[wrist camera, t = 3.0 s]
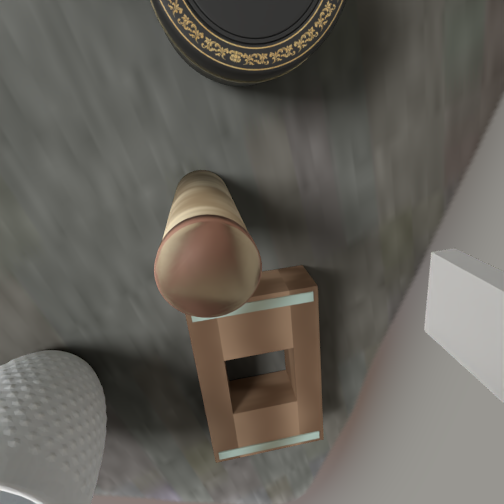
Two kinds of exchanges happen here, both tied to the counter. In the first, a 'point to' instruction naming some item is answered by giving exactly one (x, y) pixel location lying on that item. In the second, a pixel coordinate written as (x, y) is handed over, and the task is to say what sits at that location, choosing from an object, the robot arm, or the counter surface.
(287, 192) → the counter surface
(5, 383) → the mug
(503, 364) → the robot arm
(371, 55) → the counter surface
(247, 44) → the jar
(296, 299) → the socket board
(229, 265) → the dowel
